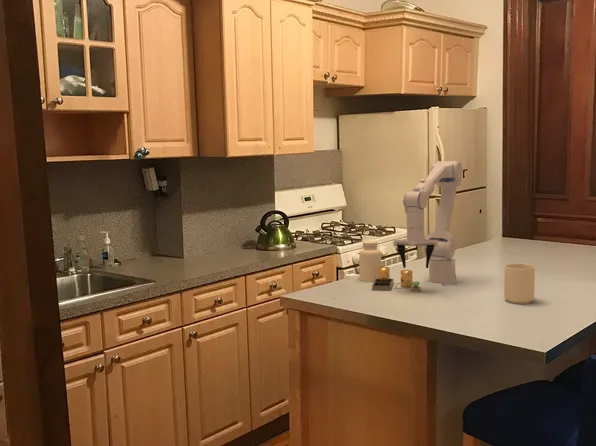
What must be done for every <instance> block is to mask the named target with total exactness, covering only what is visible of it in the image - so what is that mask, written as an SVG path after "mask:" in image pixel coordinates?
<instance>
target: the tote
mask: <svg viewBox="0 0 596 446" xmlns="http://www.w3.org/2000/svg"><path fill="white" fill-rule="evenodd" d="M398 285H401V282H395V283H394V286H393V289H394V290H411V288H403V287H398ZM418 287H420V285H418Z"/></svg>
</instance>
